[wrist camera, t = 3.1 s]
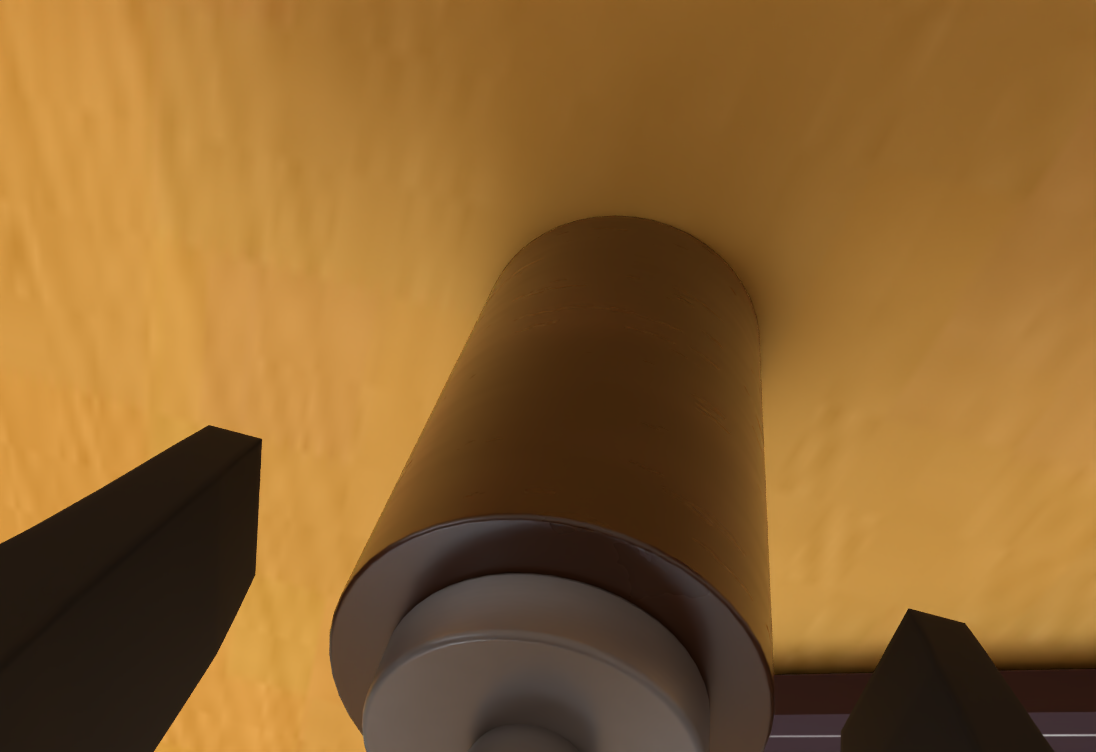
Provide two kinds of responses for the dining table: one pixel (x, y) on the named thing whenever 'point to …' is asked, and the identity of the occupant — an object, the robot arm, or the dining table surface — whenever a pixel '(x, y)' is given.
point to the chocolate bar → (828, 699)
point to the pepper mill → (578, 519)
